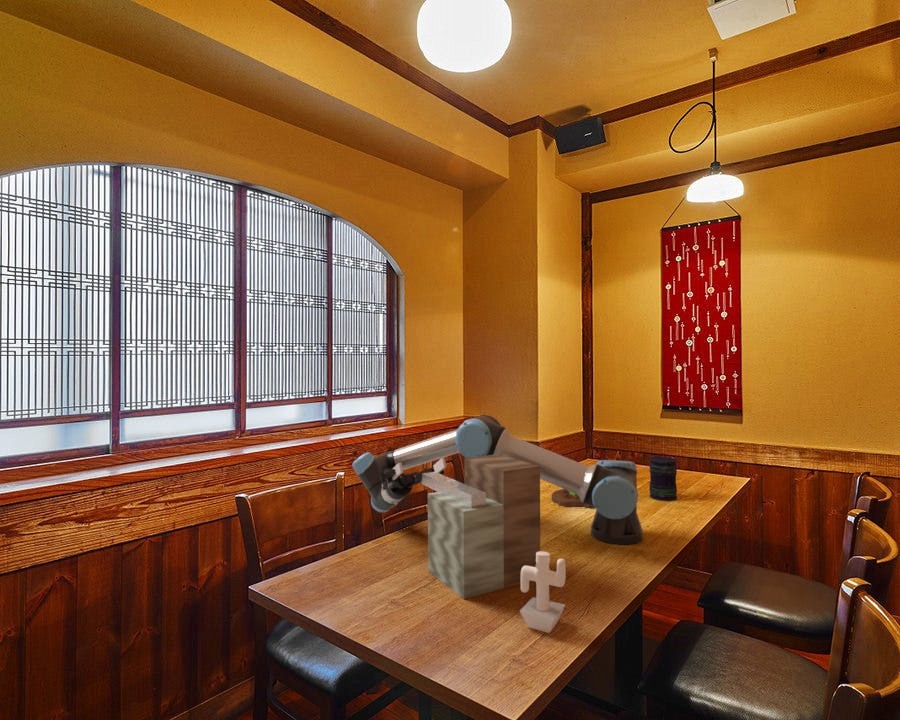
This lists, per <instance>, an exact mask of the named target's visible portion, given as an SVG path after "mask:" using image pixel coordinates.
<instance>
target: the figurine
mask: <svg viewBox="0 0 900 720" xmlns="http://www.w3.org/2000/svg"><path fill="white" fill-rule="evenodd" d="M550 562H551V554H550V553H549V552H547V551H544V550H543V551H541V550H540V552H537V553H536V565H535V567H532V566H523V567H522V569H521V584H520V591H521V593H528V592H529V590H530V582H529V581H531V582H535V584H536V586H535V587H536V596H535V597H534V596H532V597H531V598H530V599H529V600H528V602H526V603H525V604H524V606H522V608H521V609H520V610H519V613H520V615H521V616H522V618H523V620H524V621H525V624H526V625H527V627H528V628H529V629H532V630H537V631H539V632H543V633H547V634H550V633H551V632H552V630H553V629H554V628H555V626H556V625H557V623H558V621H559V619H560V618H561V616H562V613H563V611H564V609H565V607H566V604H564V603H560V602H555V601H551V600H550V586H554V587H558V588H562V587H563V586H564V585H565V584H566V574H567V573H566V571H567V570H566V568H567V566H566V564H567V563H566V560H565V559H564V558H558V559H557V561H556V571H554V570H551V569H550Z"/></svg>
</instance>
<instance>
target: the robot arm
mask: <svg viewBox="0 0 900 720" xmlns="http://www.w3.org/2000/svg"><path fill="white" fill-rule="evenodd" d="M459 453H460V455H462V456H463V457H464V458H471V457H479V456H488V455H497V454H500V455H503V456H507V457H510V458H513V459H517V460H520V461H524V462H527V463H531V464H534V465H538V466H540V480H542V481H545V482H547V483H550V484H551V485H554V486H556V487H559V488H561V489H566V490H568V491H570V492H573V493H575V494H578V496H579V497H580V499H581V502H583V503H585V504H588V505H590V506H592V507H594V508H593V509H595V513H594V516H593V519H592V522H591V525H590V535H591V536H592V537H593V538H594V539H596V540H598V541H600V542H603V543H609V544H615V545H633V544H637V543H640V542H642V541H643V539H644V537H643V535H644V532H643V527H642V525H641V524H642V523H641V521H640V519H639V515H638V513H637V507H638V506H637V505H638V504H637V503H638V502H639V493H638V492H639V491H638V488H637V486H638V484H637V483H638V482H637V481H638V479H637V478H638V477H637V476H638V469H637V464H636V463H635V462H633V461H629V460H617V459H615V460H614V459H600V460H598V461H597V462H596V463H594V464H592V465H585V464H583V463H581V462H578V461H576V460H574V459H570V458H569V457H565V456H564V455H561V454H558V453H556V452H554V451H550V450H548V449H545V448H543V447H540V446H539V445H536V444H533V443H531V442H529V441H526V440H523V439H520V438H518V437H516V436H513V435H511V433H510V431H509V429H508V428H507V427H504V426H502V424H501V423H500V421H498V419H496V418H495V417H494V416H492V415H489V414H488V415H487V414H482V415H478V416H475V417H473V418H469V419H467V420H465V421H463V423H462V424H460V425H459V427H458V428H457V429H454V430H451V431H448V432H445V433H442V434H439V435H436V436H433V437H430V438H427V439H424V440H421V441H418V442H415V443H412V444H409V445H406V446H403V447H400V448H397V449H394V450H392V451H391V450H390V451H386V452H384V453H382V454H380V455H377V456H374V455H373V454H372V453H371V452H369V451H367V452H366V453H365V452H364V453H363V454H361V455H360V456H359V457H358V458H355V460H354V461H353V462H352V464H351V465H352V468H353V470H354V472H355V474H356V475H357V477H358V478H359V480H360V481H361V482H362V484H363V486H364V487H365V489H366V490H367V492H368V493H369V495H370V496H371V497H370V503H371V504H370V505H371V507H372V509H374V510H375V511H377V512H378V513H386V512H388V511H390V510H391V509H393V508H394V507H395V506H397V505H398V504H399V503H400V502H401V501H402V500H403V499H404V498H405V497H407V496H408V495H409V494H410V493H411V492H412V489H413V487H414V486H416V485H418V484H420V485H422V473H429V472H437V473H439V474H441V475H445V471H444V470H445V468H447V467H448V466H447V462H446V459H445V458H446V457H450V456H453V455H455V454H459ZM436 460H438V461H436ZM434 461H436V462H435V463H434V464H433V465H432V467H430V468H429V467H428V468H427V469H424V470H422V471H414V472H411V473H407V474H406V473H404V471H405V470H408V469H411V468H414V467H417V466H421V465H424V464H427V463H431V462H434Z"/></svg>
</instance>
